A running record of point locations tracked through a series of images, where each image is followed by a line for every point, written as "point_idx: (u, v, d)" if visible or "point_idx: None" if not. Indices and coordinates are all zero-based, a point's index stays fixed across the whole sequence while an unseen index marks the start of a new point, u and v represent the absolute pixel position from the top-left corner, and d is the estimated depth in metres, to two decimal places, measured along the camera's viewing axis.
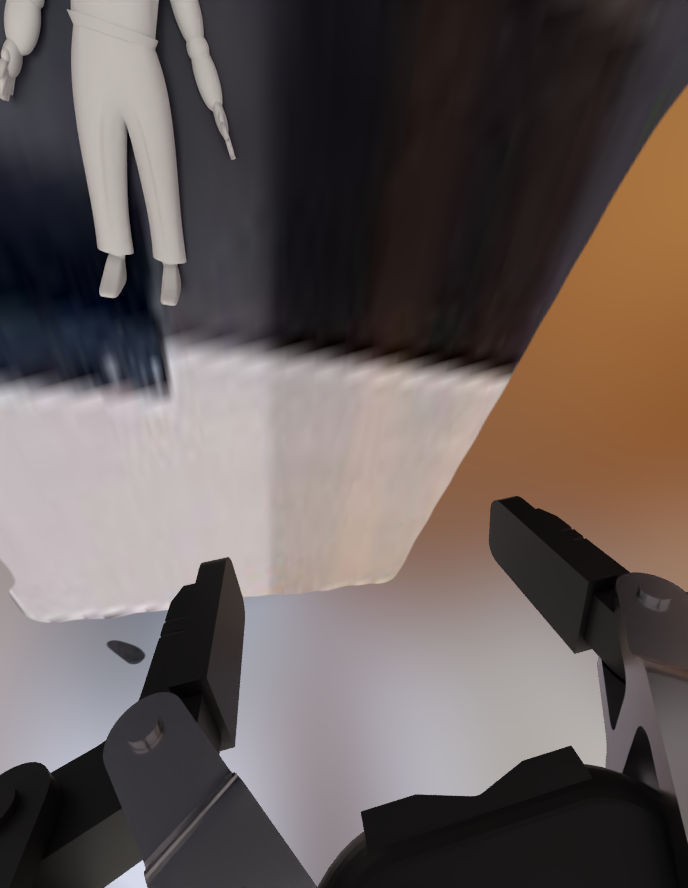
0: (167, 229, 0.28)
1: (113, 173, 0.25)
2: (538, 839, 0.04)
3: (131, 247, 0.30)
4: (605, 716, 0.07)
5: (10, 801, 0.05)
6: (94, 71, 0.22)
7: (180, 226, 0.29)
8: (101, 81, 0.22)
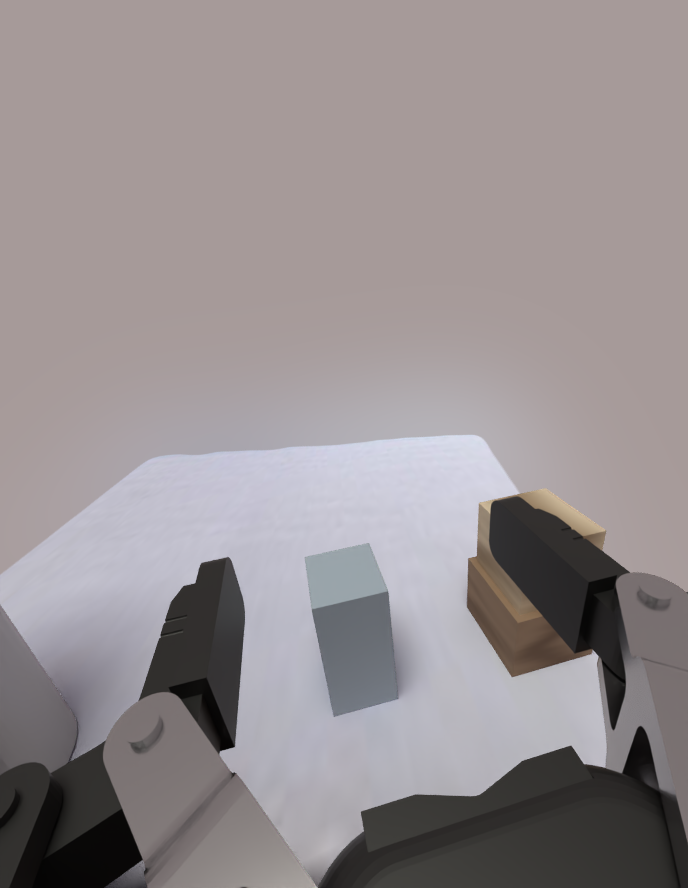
0: None
1: None
2: (538, 839, 0.04)
3: None
4: (605, 716, 0.07)
5: (10, 801, 0.05)
6: None
7: None
8: None
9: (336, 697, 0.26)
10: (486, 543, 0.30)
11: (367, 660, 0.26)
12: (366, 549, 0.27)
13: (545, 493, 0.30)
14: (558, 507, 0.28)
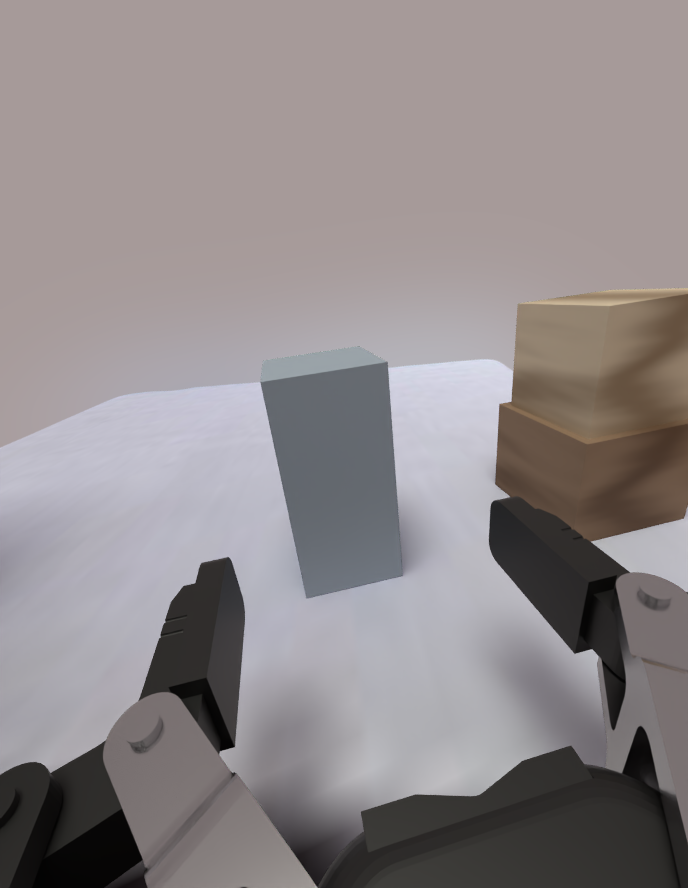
0: None
1: None
2: (538, 839, 0.04)
3: None
4: (605, 716, 0.07)
5: (10, 801, 0.05)
6: None
7: None
8: None
9: (309, 563, 0.17)
10: (529, 362, 0.20)
11: (355, 499, 0.16)
12: (355, 348, 0.18)
13: (613, 290, 0.21)
14: (640, 291, 0.19)
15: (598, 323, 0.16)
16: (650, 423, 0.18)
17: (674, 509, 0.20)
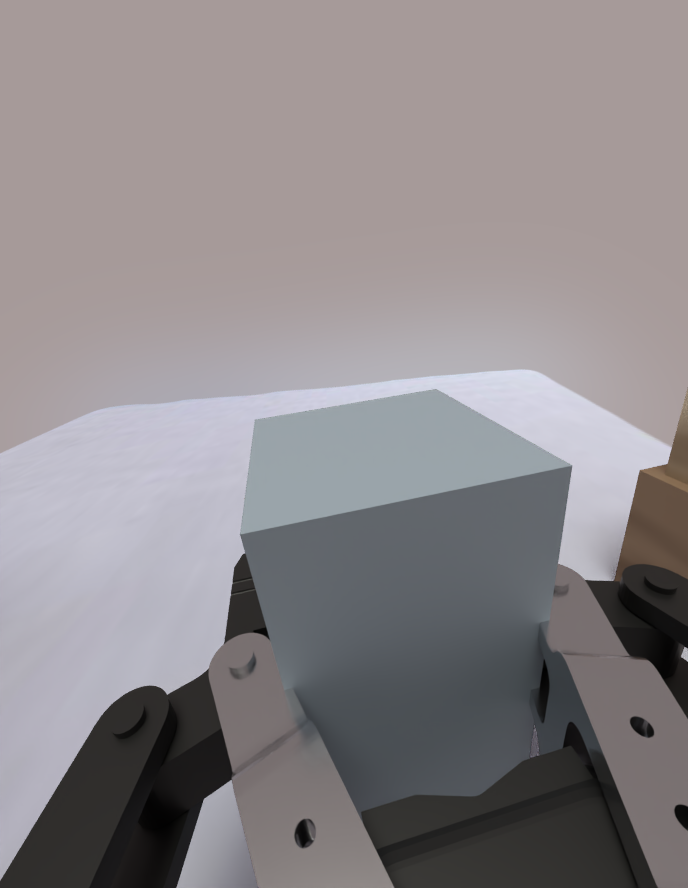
0: None
1: None
2: (538, 839, 0.04)
3: None
4: (532, 708, 0.08)
5: (139, 713, 0.06)
6: None
7: None
8: None
9: None
10: None
11: (452, 733, 0.08)
12: (433, 397, 0.09)
13: None
14: None
15: None
16: None
17: None
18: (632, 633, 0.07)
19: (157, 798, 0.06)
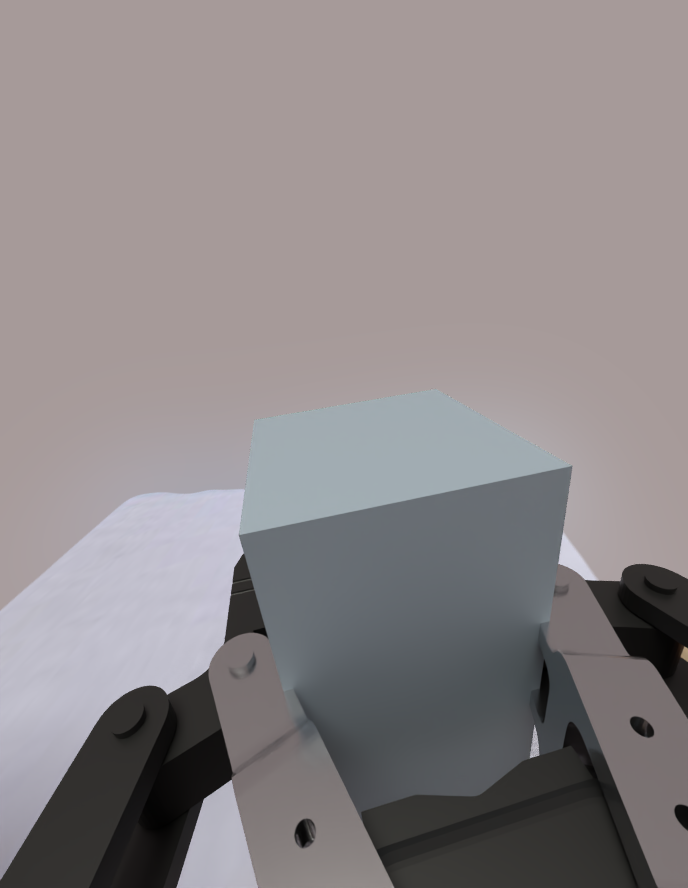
0: None
1: None
2: (538, 839, 0.04)
3: None
4: (532, 708, 0.08)
5: (139, 713, 0.06)
6: None
7: None
8: None
9: None
10: None
11: (452, 734, 0.08)
12: (433, 397, 0.09)
13: None
14: None
15: None
16: None
17: None
18: (632, 633, 0.07)
19: (157, 798, 0.06)
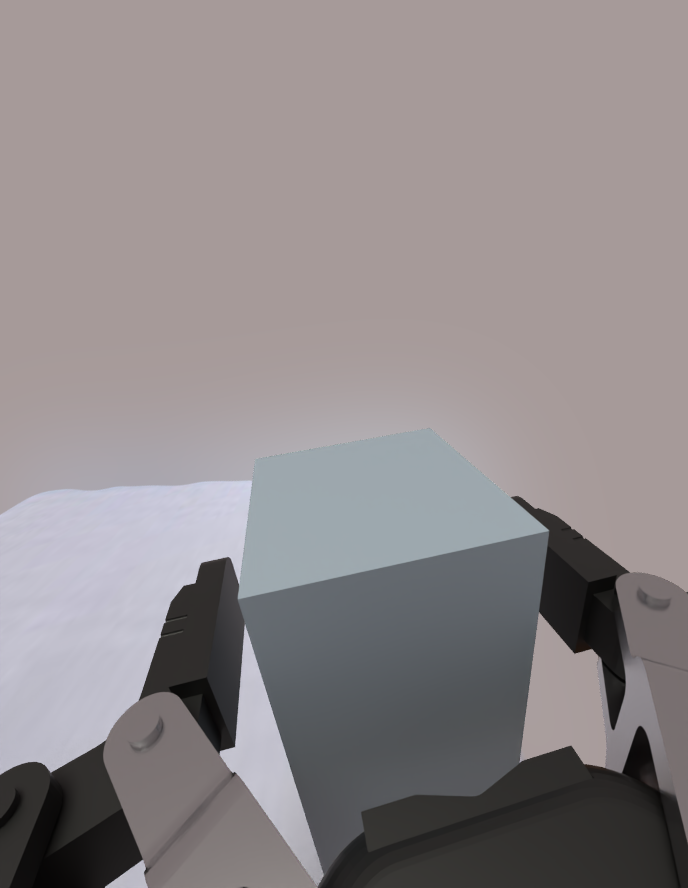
0: None
1: None
2: (538, 839, 0.04)
3: None
4: (605, 716, 0.07)
5: (11, 801, 0.05)
6: None
7: None
8: None
9: None
10: None
11: (440, 767, 0.08)
12: (426, 438, 0.10)
13: None
14: None
15: None
16: None
17: None
18: None
19: None
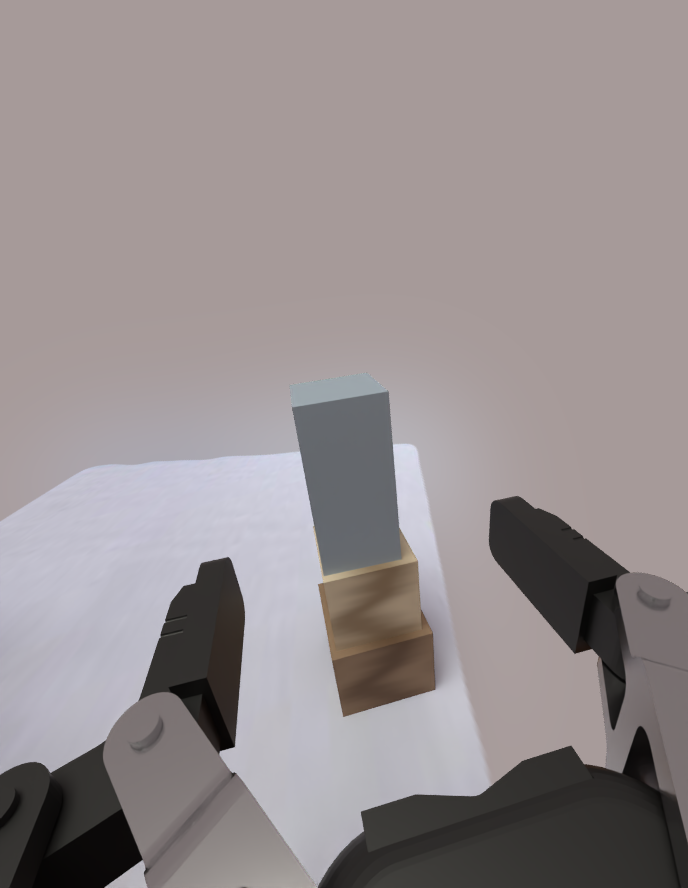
0: None
1: None
2: (538, 839, 0.04)
3: None
4: (605, 716, 0.07)
5: (10, 801, 0.05)
6: None
7: None
8: None
9: (326, 548, 0.22)
10: None
11: (363, 496, 0.21)
12: (363, 375, 0.23)
13: None
14: None
15: None
16: (384, 637, 0.25)
17: (424, 685, 0.27)
18: None
19: None
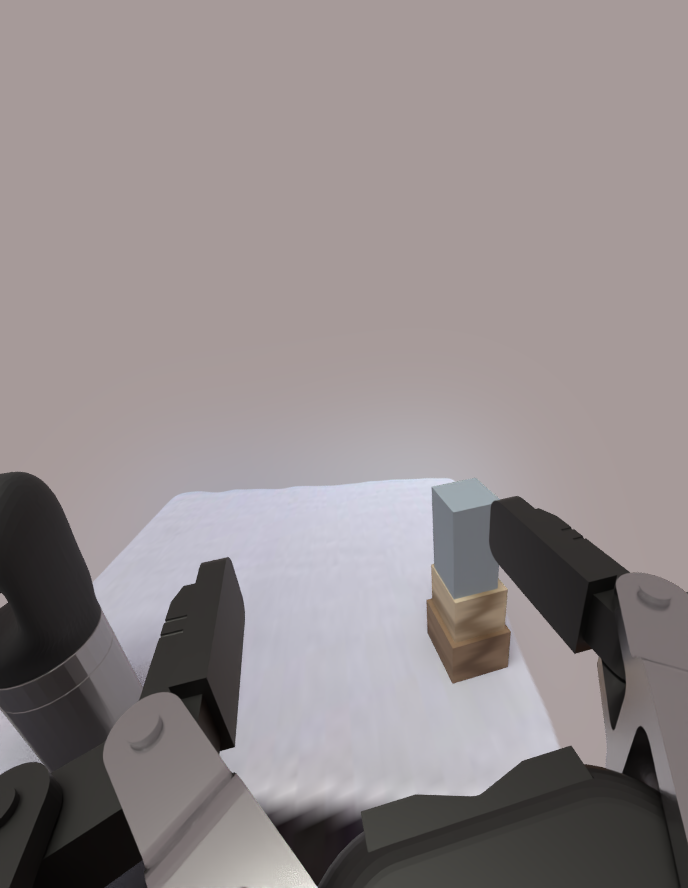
0: None
1: None
2: (538, 839, 0.04)
3: None
4: (605, 716, 0.07)
5: (10, 801, 0.05)
6: None
7: None
8: None
9: (457, 583, 0.38)
10: (436, 592, 0.43)
11: (481, 555, 0.37)
12: (475, 481, 0.39)
13: None
14: None
15: (453, 605, 0.39)
16: (483, 634, 0.41)
17: (501, 664, 0.43)
18: None
19: None
